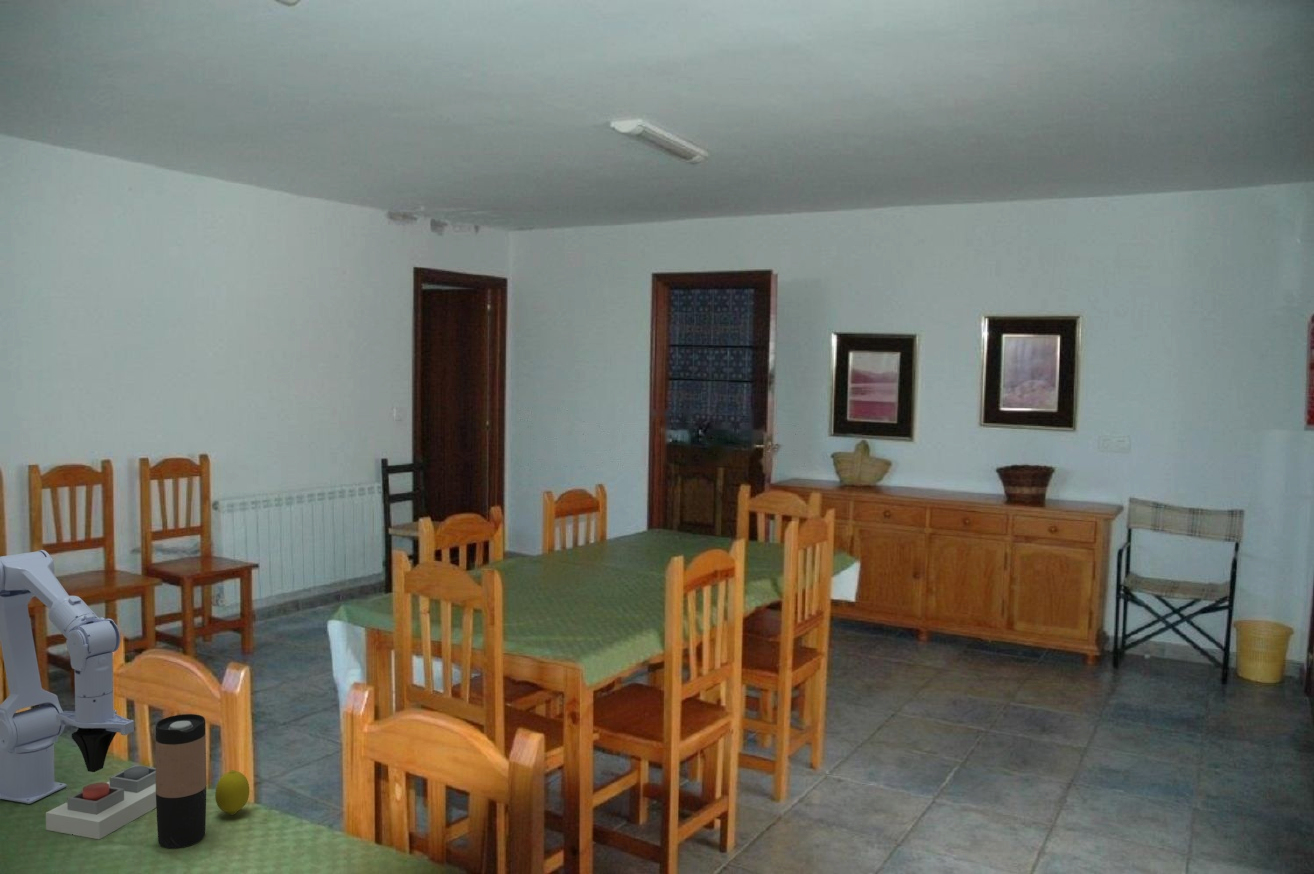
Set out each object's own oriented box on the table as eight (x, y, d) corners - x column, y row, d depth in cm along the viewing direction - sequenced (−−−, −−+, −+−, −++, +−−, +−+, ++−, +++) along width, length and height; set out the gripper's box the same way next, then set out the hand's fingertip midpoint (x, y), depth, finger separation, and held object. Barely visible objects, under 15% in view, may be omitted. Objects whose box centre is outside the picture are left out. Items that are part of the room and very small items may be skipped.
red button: (77, 801, 169) (76, 790, 169) (96, 792, 173) (95, 781, 173) (96, 805, 168) (96, 793, 168) (114, 795, 172) (114, 784, 172)
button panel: (46, 829, 168) (45, 801, 167) (132, 784, 186) (132, 758, 186) (99, 839, 165) (98, 810, 165) (182, 792, 183) (181, 766, 183)
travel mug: (171, 826, 170) (169, 712, 168) (215, 828, 170) (214, 714, 168) (146, 848, 162) (145, 729, 161) (193, 850, 162) (191, 730, 161)
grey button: (118, 784, 178) (118, 773, 178) (135, 775, 182) (135, 764, 182) (137, 787, 177) (136, 776, 177) (153, 778, 181) (153, 767, 181)
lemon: (254, 807, 178) (253, 764, 177) (242, 821, 172) (242, 776, 172) (222, 807, 178) (222, 763, 177) (210, 821, 172) (209, 776, 172)
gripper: (147, 689, 171) (148, 766, 172) (79, 680, 175) (80, 755, 176) (115, 702, 165) (116, 782, 166) (44, 692, 168) (46, 770, 169)
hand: (95, 769), depth 171 cm, fingers closed
